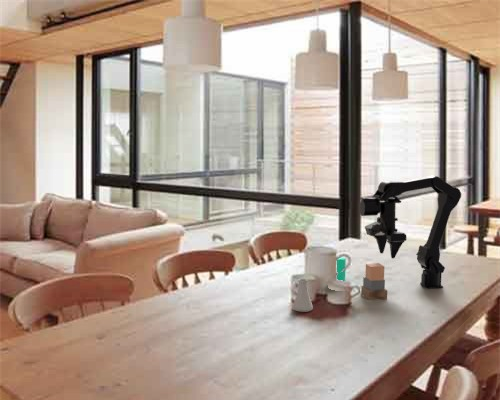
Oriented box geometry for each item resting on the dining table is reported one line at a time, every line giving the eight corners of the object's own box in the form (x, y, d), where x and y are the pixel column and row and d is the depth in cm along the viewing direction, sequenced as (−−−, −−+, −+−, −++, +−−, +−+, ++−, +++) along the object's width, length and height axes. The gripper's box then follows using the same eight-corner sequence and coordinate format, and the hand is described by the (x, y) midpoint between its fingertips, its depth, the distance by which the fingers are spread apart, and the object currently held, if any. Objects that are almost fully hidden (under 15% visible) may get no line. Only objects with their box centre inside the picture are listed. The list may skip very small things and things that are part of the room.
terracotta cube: (378, 276, 198) (379, 263, 198) (383, 280, 193) (384, 266, 193) (365, 277, 197) (365, 263, 197) (370, 280, 192) (371, 266, 192)
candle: (346, 286, 210) (347, 255, 208) (330, 286, 210) (331, 255, 208) (343, 282, 216) (344, 252, 214) (328, 282, 216) (329, 252, 214)
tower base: (379, 294, 200) (379, 285, 200) (387, 299, 193) (387, 290, 193) (361, 295, 199) (361, 285, 199) (368, 300, 192) (368, 291, 192)
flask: (288, 310, 180) (288, 281, 179) (296, 304, 186) (296, 276, 185) (308, 313, 177) (309, 283, 176) (316, 307, 183) (317, 278, 182)
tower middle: (376, 285, 199) (376, 276, 199) (384, 289, 194) (384, 279, 194) (363, 286, 197) (363, 277, 197) (371, 290, 192) (371, 281, 192)
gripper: (357, 212, 211) (357, 252, 213) (378, 219, 193) (378, 262, 195) (383, 211, 214) (383, 250, 216) (407, 218, 196) (406, 260, 197)
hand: (387, 255), depth 206 cm, fingers open, 9 cm apart
